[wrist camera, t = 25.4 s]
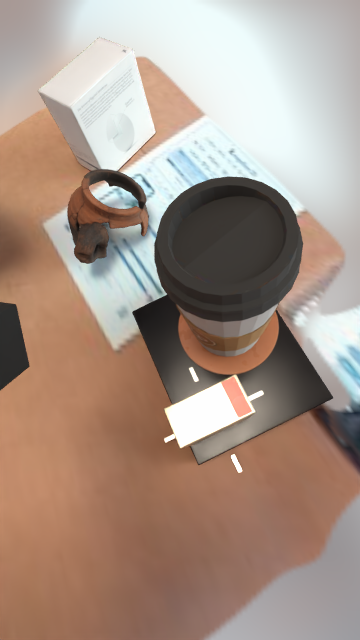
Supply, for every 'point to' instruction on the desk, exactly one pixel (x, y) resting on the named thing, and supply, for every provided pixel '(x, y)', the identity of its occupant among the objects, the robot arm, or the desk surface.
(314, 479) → the desk surface
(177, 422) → the cream block
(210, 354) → the warming ring
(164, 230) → the coffee cup
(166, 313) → the hotplate
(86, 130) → the cosmetics box
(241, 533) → the desk surface
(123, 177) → the pottery mug
